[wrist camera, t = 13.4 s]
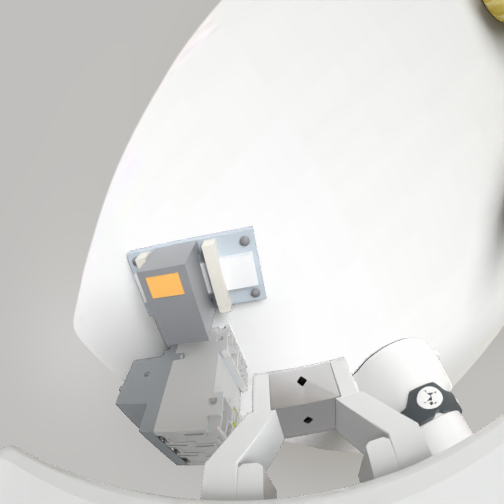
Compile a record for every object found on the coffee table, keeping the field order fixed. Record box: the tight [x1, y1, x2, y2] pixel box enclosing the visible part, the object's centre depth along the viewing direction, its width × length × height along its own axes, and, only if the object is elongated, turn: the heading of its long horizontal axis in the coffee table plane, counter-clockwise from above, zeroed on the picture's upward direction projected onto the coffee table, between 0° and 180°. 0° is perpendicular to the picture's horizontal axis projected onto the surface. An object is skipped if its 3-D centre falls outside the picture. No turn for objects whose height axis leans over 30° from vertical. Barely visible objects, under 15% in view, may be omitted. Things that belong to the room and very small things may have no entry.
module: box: [137, 240, 215, 345], centre depth 26 cm, size 8×4×6 cm, turn 10°
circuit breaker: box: [116, 324, 247, 465], centre depth 28 cm, size 8×14×15 cm, turn 107°
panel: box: [126, 226, 266, 316], centre depth 29 cm, size 8×14×3 cm, turn 101°
